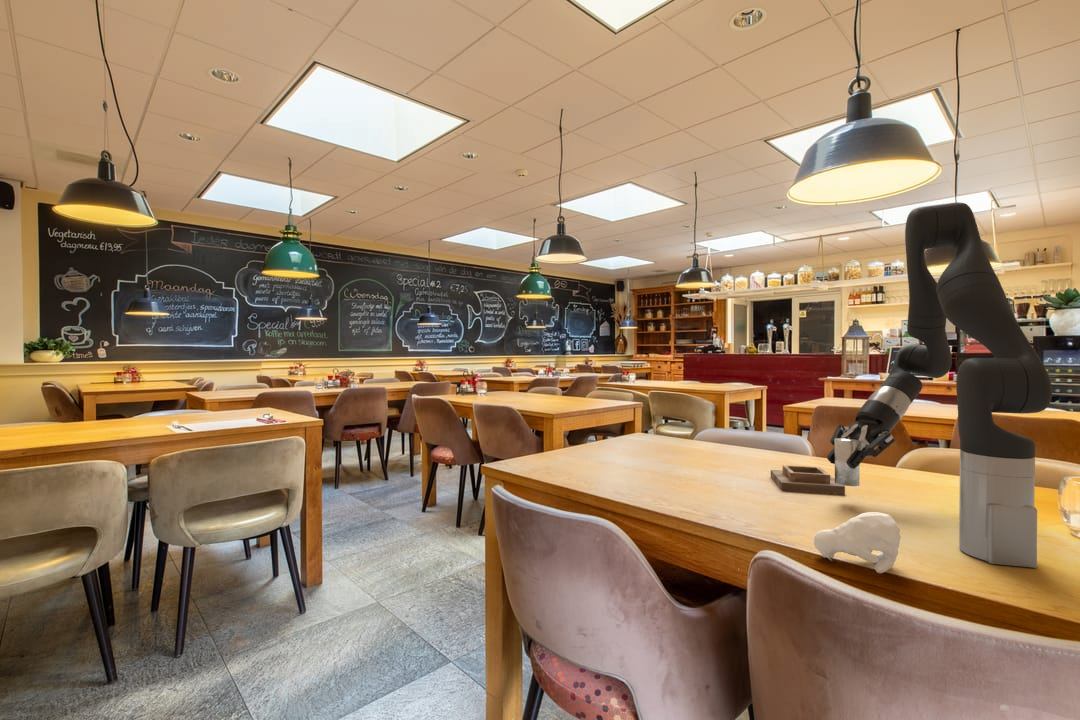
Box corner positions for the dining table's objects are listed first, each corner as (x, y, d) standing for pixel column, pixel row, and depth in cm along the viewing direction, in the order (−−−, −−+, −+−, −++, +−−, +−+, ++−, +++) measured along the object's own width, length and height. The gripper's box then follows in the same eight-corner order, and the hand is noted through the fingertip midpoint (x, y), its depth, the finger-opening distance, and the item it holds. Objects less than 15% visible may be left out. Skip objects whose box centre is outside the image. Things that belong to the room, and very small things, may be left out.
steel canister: (862, 486, 108) (862, 441, 108) (838, 485, 110) (838, 440, 110) (855, 481, 113) (854, 438, 113) (831, 480, 114) (831, 437, 114)
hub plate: (844, 494, 118) (845, 478, 118) (781, 490, 122) (781, 474, 122) (827, 480, 131) (827, 465, 131) (770, 477, 135) (770, 462, 135)
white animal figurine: (901, 520, 74) (810, 515, 79) (907, 577, 73) (815, 568, 79) (895, 509, 79) (810, 505, 85) (901, 562, 79) (816, 554, 85)
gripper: (847, 396, 120) (806, 447, 117) (902, 400, 106) (857, 458, 103) (865, 417, 121) (824, 468, 118) (922, 424, 107) (877, 482, 104)
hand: (840, 463), depth 111 cm, fingers closed on steel canister, 4 cm apart
